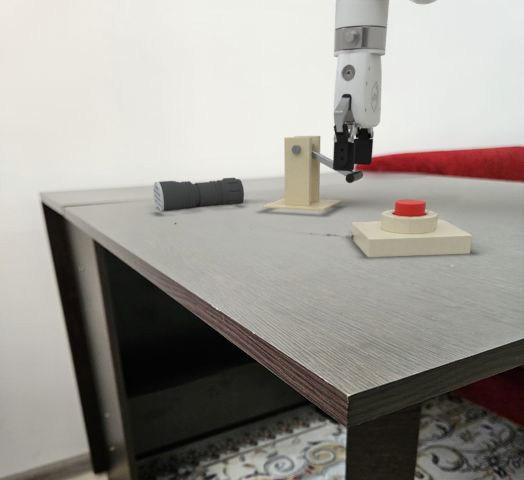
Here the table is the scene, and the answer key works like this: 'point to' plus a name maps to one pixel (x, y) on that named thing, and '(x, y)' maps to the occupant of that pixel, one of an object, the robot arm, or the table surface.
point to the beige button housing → (410, 236)
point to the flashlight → (197, 194)
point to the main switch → (328, 162)
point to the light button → (410, 208)
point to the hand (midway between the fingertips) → (352, 167)
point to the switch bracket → (302, 176)
